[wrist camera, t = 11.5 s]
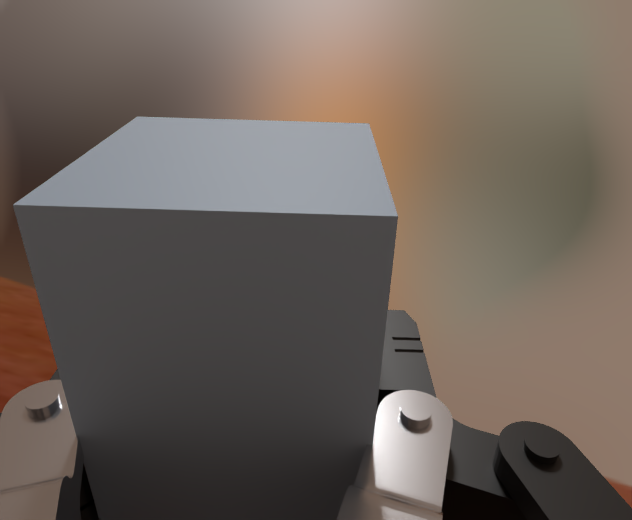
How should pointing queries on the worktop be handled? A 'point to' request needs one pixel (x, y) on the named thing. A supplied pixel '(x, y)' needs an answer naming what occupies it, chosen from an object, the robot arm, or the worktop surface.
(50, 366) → the worktop surface
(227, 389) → the pillar
